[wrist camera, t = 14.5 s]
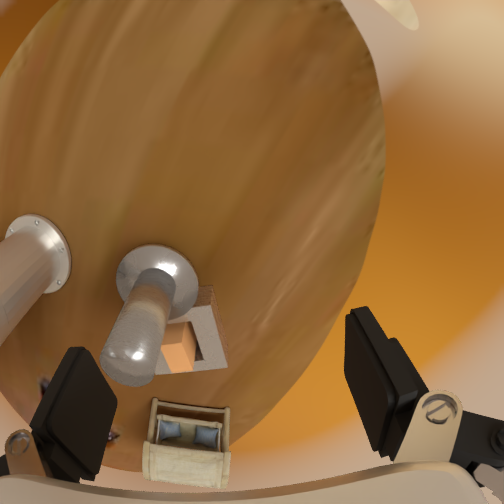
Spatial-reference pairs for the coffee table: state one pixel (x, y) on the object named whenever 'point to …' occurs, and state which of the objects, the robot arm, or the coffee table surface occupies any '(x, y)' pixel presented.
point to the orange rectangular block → (179, 346)
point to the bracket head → (160, 316)
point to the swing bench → (187, 460)
